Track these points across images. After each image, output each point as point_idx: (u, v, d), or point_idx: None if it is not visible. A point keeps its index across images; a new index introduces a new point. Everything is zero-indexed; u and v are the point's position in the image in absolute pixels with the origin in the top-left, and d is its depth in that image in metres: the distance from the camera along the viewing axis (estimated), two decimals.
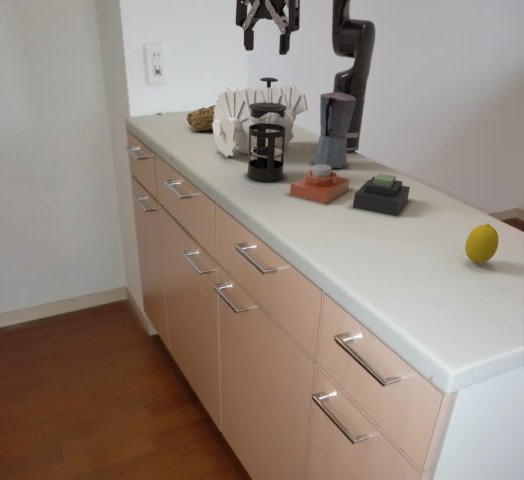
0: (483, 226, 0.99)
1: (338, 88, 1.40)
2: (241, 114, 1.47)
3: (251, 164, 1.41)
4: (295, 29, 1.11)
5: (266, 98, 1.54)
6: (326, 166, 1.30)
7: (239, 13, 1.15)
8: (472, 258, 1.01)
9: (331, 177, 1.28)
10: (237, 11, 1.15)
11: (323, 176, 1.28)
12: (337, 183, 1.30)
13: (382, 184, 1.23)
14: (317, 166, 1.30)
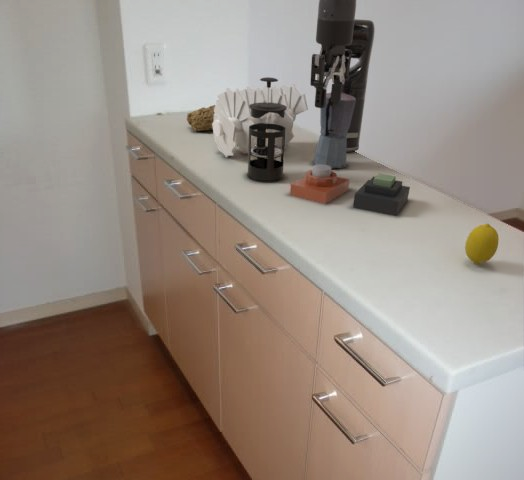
0: (483, 226, 0.99)
1: None
2: (241, 114, 1.47)
3: (251, 164, 1.41)
4: (315, 85, 1.14)
5: (266, 98, 1.54)
6: (326, 166, 1.30)
7: None
8: (472, 258, 1.01)
9: (331, 177, 1.28)
10: None
11: (323, 176, 1.28)
12: (337, 183, 1.30)
13: (382, 184, 1.23)
14: (317, 166, 1.30)
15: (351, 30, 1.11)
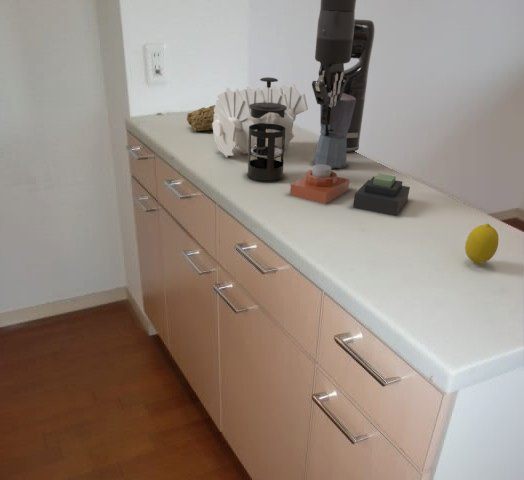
0: (483, 226, 0.99)
1: None
2: (241, 114, 1.47)
3: (251, 164, 1.41)
4: (321, 103, 1.19)
5: (266, 98, 1.54)
6: (326, 166, 1.30)
7: None
8: (472, 258, 1.01)
9: (331, 177, 1.28)
10: None
11: (323, 176, 1.28)
12: (337, 183, 1.30)
13: (382, 184, 1.23)
14: (317, 166, 1.30)
15: (350, 48, 1.13)
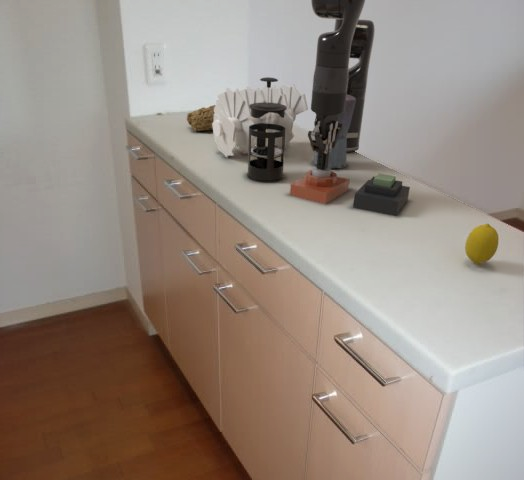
0: (483, 226, 0.99)
1: None
2: (241, 114, 1.47)
3: (251, 164, 1.41)
4: (317, 151, 1.24)
5: (266, 98, 1.54)
6: None
7: None
8: (472, 258, 1.01)
9: (331, 177, 1.28)
10: None
11: None
12: (337, 183, 1.30)
13: (382, 184, 1.23)
14: None
15: (344, 100, 1.19)
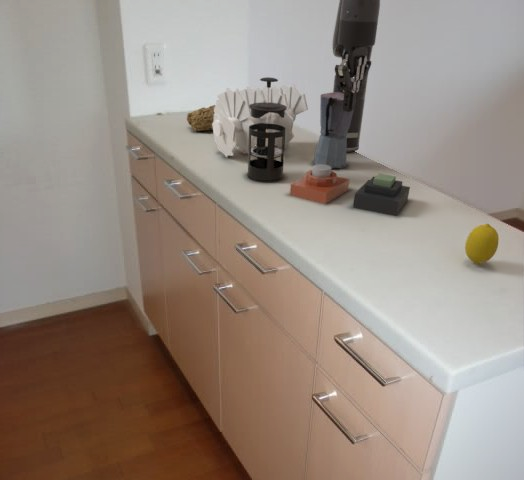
0: (483, 226, 0.99)
1: (338, 88, 1.40)
2: (241, 114, 1.47)
3: (251, 164, 1.41)
4: (344, 89, 1.15)
5: (266, 98, 1.54)
6: (326, 166, 1.30)
7: None
8: (472, 258, 1.01)
9: (331, 177, 1.28)
10: None
11: (323, 176, 1.28)
12: (337, 183, 1.30)
13: (382, 184, 1.23)
14: (317, 166, 1.30)
15: (375, 31, 1.09)
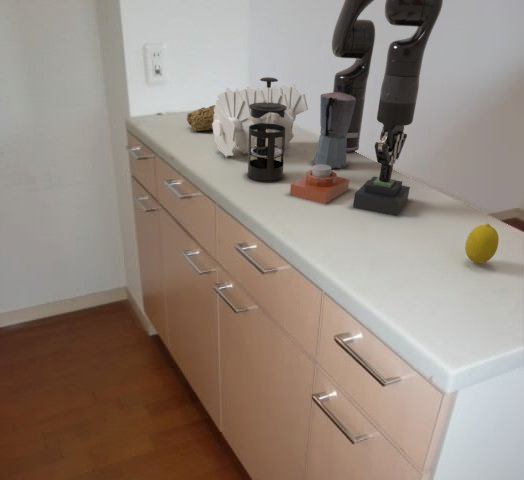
0: (483, 226, 0.99)
1: (338, 88, 1.40)
2: (241, 114, 1.47)
3: (251, 164, 1.41)
4: (382, 162, 1.20)
5: (266, 98, 1.54)
6: (326, 166, 1.30)
7: None
8: (472, 258, 1.01)
9: (331, 177, 1.28)
10: None
11: (323, 176, 1.28)
12: (337, 183, 1.30)
13: None
14: (317, 166, 1.30)
15: (413, 111, 1.14)
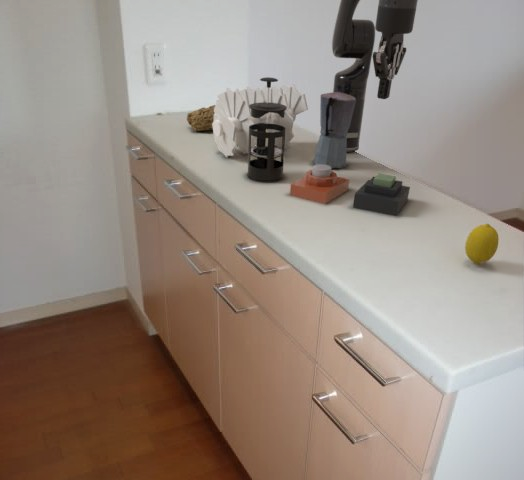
0: (483, 226, 0.99)
1: (338, 88, 1.40)
2: (241, 114, 1.47)
3: (251, 164, 1.41)
4: (380, 76, 1.15)
5: (266, 98, 1.54)
6: (326, 166, 1.30)
7: None
8: (472, 258, 1.01)
9: (331, 177, 1.28)
10: None
11: (323, 176, 1.28)
12: (337, 183, 1.30)
13: (382, 184, 1.23)
14: (317, 166, 1.30)
15: (413, 18, 1.09)
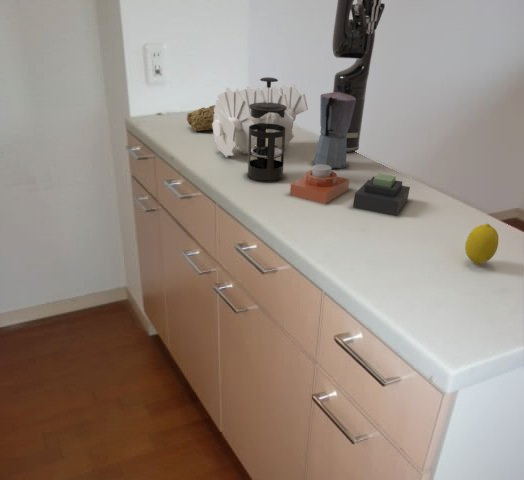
0: (483, 226, 0.99)
1: (338, 88, 1.40)
2: (241, 114, 1.47)
3: (251, 164, 1.41)
4: (359, 29, 1.20)
5: (266, 98, 1.54)
6: (326, 166, 1.30)
7: None
8: (472, 258, 1.01)
9: (331, 177, 1.28)
10: None
11: (323, 176, 1.28)
12: (337, 183, 1.30)
13: (382, 184, 1.23)
14: (317, 166, 1.30)
15: None
